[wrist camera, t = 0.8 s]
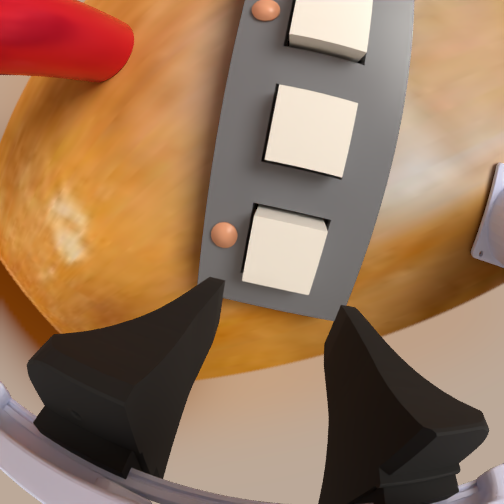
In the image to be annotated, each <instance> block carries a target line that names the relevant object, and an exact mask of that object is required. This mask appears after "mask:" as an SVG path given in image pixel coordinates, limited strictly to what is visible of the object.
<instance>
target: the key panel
mask: <svg viewBox="0 0 504 504" xmlns="http://www.w3.org/2000/svg"><path fill="white" fill-rule="evenodd" d="M295 2H296V0H245V2H244V6H243V10H242V15H241V19H240V23H239V27H238V31H237V36H236V40H235V45H234V49H233V54H232V59H231V63H230V68H229V73H228V78H227V83H226V88H225V93H224V99H223V104H222V110H221V115H220V121H219V126H218V132H217V138H216V144H215V151H214V157H213V163H212V170H211V177H210V184H209V191H208V198H207V205H206V213H205V221H204V229H203V237H202V246H201V255H200V264H199V274H198V284H200V283H201V282H203V281H204V280H205V279H207V278H209V277H213V278H218V279H222V280H225V286H224V292H223V298H225V299H230V300H234V301H238V302H243V303H247V304H252V305H256V306H261V307H265V308H270V309H275V310H279V311H284V312H289V313H294V314H299V315H304V316H309V317H314V318H320V319H325V320H331V321H335V318H336V316H337V313H338V311H339V308H340V306H341V305H345V306H346V304H347V302H348V299H349V297H350V294H351V292H352V289H353V287H354V284H355V281H356V279H357V276H358V273H359V270H360V268H361V265H362V262H363V259H364V256H365V253H366V251H367V248H368V245H369V242H370V239H371V235H372V232H373V229H374V226H375V223H376V220H377V216H378V213H379V210H380V206H381V203H382V199H383V196H384V192H385V188H386V185H387V181H388V177H389V173H390V169H391V165H392V161H393V157H394V152H395V148H396V143H397V139H398V134H399V129H400V124H401V119H402V113H403V108H404V102H405V96H406V89H407V82H408V75H409V67H410V58H411V49H412V37H413V22H414V0H373V5H372V15H371V23H370V32H369V39H368V47H367V53H366V54H365V55H364V56H363V57H362V58H361V59H360V60H359V61H358V62H357V63H355V62H352V61H348V60H345V59H341V58H337V57H334V56H330V55H326V54H321V53H317V52H312V51H308V50H303V49H298V48H292V47H287V42H288V37H289V32H290V27H291V22H292V17H293V12H294V7H295ZM279 84H280V85H285V86H291V87H296V88H300V89H305V90H310V91H314V92H318V93H322V94H326V95H330V96H334V97H338V98H342V99H345V100H349V101H352V102H356V103H358V107H357V112H356V117H355V122H354V127H353V132H352V137H351V141H350V146H349V150H348V155H347V159H346V163H345V168H344V172H343V176H342V177H338V176H334V175H331V174H327V173H323V172H319V171H314V170H310V169H306V168H302V167H297V166H293V165H288V164H283V163H279V162H274V161H269V160H265V155H266V150H267V145H268V140H269V134H270V129H271V124H272V119H273V114H274V109H275V103H276V98H277V93H278V89H279ZM256 203H258V204H263V205H268V206H272V207H277V208H281V209H286V210H291V211H295V212H299V213H304V214H308V215H312V216H317V217H321V218H324V219H323V220H324V223H325V225H326V228H327V231H328V233H327V237H326V240H325V244H324V247H323V251H322V254H321V257H320V261H319V264H318V267H317V271H316V274H315V277H314V280H313V283H312V287H311V290H310V293H309V295H305V294H300V293H296V292H291V291H286V290H281V289H277V288H272V287H268V286H263V285H258V284H254V283H249V282H245V281H242V277H243V272H244V267H245V261H246V255H247V250H248V245H249V239H250V234H251V229H252V223H253V218H254V213H255V208H256ZM198 284H197V285H198Z"/></svg>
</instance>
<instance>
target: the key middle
mask: <svg viewBox="0 0 504 504" xmlns="http://www.w3.org/2000/svg"><path fill="white" fill-rule="evenodd" d="M357 107H358V103H356V102H352V101H349V100H345V99H342V98H338V97H334V96H330V95H326V94H322V93H318V92H314V91H310V90H305V89H300V88H296V87H291V86H285V85H280V84H279V89H278V94H277V99H276V104H275V109H274V115H273V120H272V125H271V130H270V135H269V140H268V146H267V151H266V156H265V160H269V161H274V162H279V163H283V164H288V165H293V166H297V167H302V168H306V169H310V170H314V171H319V172H323V173H327V174H331V175H334V176H338V177H342V176H343V172H344V168H345V163H346V159H347V155H348V150H349V146H350V141H351V137H352V132H353V127H354V122H355V117H356V112H357Z"/></svg>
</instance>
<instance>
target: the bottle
mask: <svg viewBox="0 0 504 504" xmlns="http://www.w3.org/2000/svg"><path fill="white" fill-rule="evenodd" d="M133 45H134V36H133V32H132V29H131V28H130V27H129V25H127V24H126V23H124V22H122V21H120V20H119V19H117V18H115V17H113V16H111V15H108V14H106V13H104V12H102V11H100V10H98V9H96V8H94V7H91V6H89V5H87V4H85V3H82V2H80V1H77V0H0V75H27V76H44V77H56V78H66V79H74V80H82V81H89V82H102V81H105V80H107V79H109V78H111V77H113V76H114V75H115V74H117V73H118V72H119V71H120V70H121V69H122V67H123V66H124V65H125V64H126V62H127V60H128V59H129V57H130V54H131V52H132V49H133Z"/></svg>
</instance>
